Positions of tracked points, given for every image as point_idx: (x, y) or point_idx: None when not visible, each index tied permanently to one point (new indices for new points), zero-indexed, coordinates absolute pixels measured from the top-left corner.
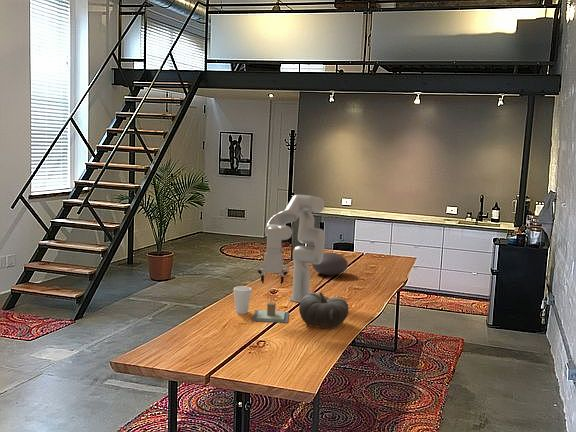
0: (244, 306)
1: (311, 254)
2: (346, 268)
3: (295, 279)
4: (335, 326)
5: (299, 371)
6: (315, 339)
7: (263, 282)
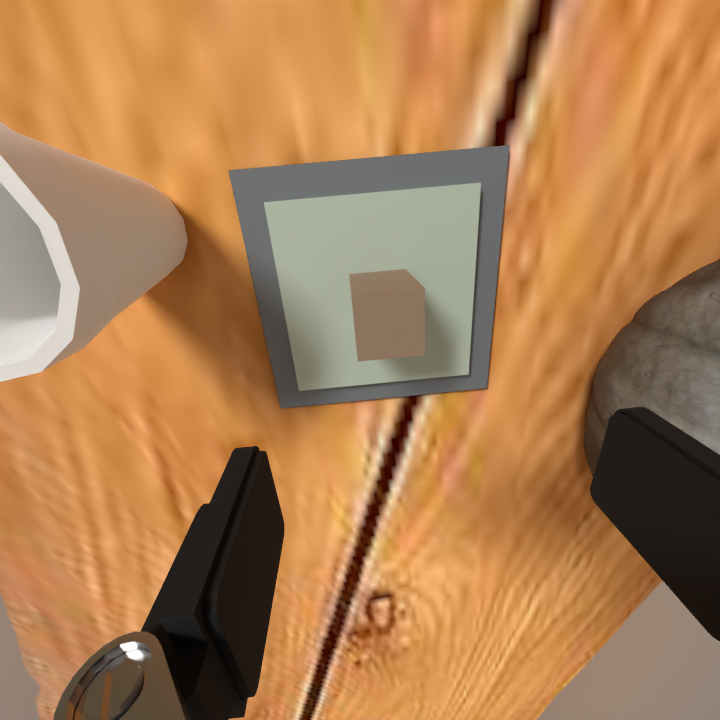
0: (149, 288)
1: None
2: None
3: None
4: None
5: (494, 706)
6: (584, 543)
7: (281, 524)
